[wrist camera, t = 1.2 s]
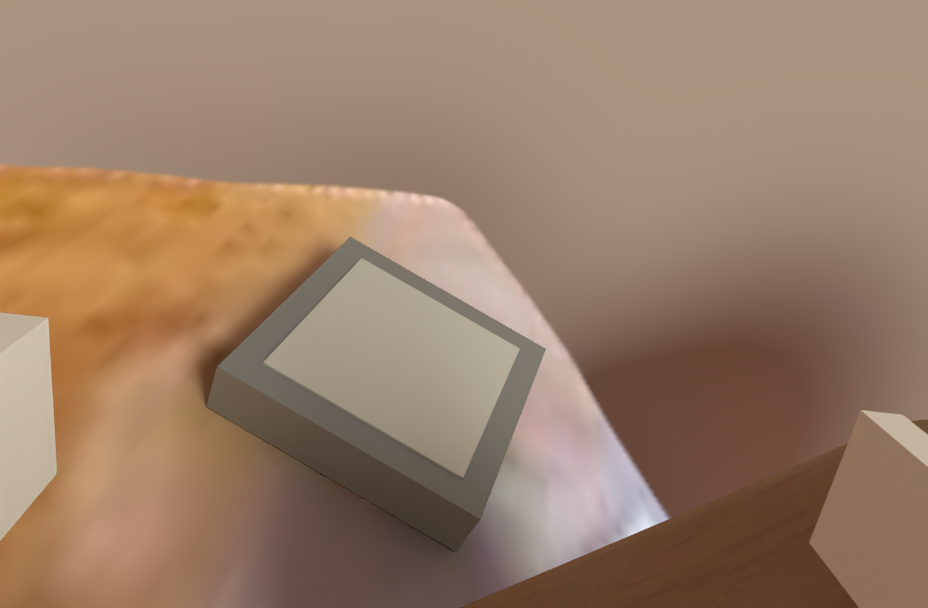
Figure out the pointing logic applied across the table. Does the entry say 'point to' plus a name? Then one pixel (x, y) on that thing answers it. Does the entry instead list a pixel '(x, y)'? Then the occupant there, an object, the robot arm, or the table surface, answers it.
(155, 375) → the table surface
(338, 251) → the slate base
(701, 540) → the wooden block
